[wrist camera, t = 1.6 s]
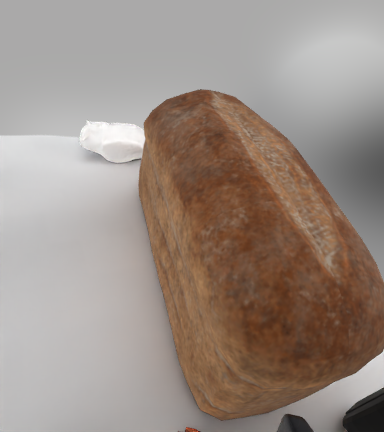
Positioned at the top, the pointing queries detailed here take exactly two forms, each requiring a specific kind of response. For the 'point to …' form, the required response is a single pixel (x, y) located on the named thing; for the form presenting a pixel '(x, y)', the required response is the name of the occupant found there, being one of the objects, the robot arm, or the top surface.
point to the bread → (252, 259)
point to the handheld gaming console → (366, 414)
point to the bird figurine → (113, 140)
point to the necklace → (190, 430)
